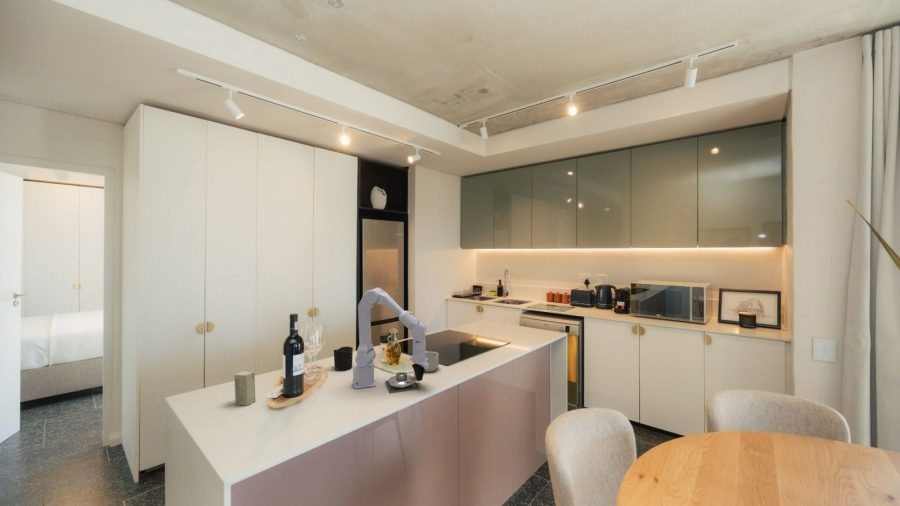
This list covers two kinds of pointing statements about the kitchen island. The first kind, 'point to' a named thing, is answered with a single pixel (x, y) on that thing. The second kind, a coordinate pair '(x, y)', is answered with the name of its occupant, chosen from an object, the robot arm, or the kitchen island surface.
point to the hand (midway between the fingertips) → (419, 380)
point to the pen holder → (343, 358)
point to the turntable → (408, 382)
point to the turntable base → (394, 389)
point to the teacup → (432, 361)
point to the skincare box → (244, 388)
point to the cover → (401, 376)
